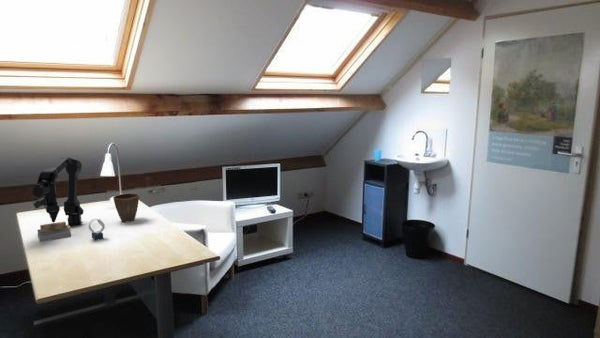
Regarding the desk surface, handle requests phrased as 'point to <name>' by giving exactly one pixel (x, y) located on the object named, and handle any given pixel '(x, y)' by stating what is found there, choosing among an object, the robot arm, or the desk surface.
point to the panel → (53, 227)
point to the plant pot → (126, 206)
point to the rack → (54, 234)
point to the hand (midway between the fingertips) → (52, 220)
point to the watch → (97, 234)
